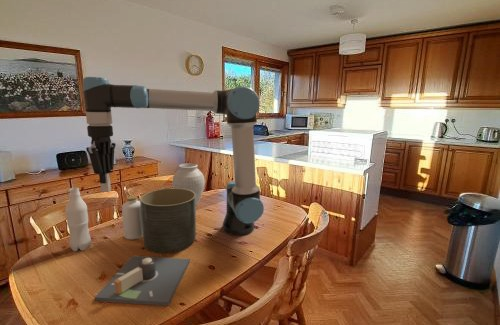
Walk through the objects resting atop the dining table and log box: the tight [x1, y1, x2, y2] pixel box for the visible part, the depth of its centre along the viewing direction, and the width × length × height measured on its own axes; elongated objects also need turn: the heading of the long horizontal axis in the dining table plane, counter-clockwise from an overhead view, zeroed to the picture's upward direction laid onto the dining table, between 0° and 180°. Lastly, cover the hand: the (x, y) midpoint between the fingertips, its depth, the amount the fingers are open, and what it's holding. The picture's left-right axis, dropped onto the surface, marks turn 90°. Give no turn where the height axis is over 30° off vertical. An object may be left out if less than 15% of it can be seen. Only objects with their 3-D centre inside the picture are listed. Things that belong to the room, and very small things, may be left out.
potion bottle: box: [121, 195, 143, 241], centre depth 113 cm, size 8×8×18 cm
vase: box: [171, 162, 206, 207], centre depth 146 cm, size 18×18×25 cm
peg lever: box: [114, 258, 156, 294], centre depth 82 cm, size 13×5×6 cm, turn 148°
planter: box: [139, 187, 197, 254], centre depth 110 cm, size 22×22×20 cm
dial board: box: [94, 255, 191, 307], centre depth 86 cm, size 22×22×1 cm
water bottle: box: [64, 187, 92, 252], centre depth 101 cm, size 7×7×25 cm
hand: (106, 191), depth 93 cm, fingers closed
